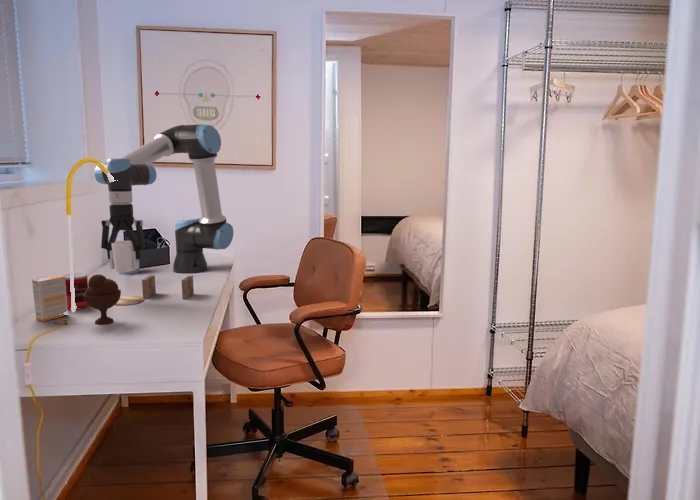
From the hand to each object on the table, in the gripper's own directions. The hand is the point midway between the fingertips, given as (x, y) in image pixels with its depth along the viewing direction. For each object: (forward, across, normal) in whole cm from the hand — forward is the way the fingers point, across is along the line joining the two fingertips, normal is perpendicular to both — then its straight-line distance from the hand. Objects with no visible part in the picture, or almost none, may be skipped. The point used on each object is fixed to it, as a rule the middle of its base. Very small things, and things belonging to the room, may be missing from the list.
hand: (125, 268), depth 194 cm
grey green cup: (+12, -21, +48) cm, 54 cm away
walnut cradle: (+12, +12, +8) cm, 19 cm away
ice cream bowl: (+12, +4, -25) cm, 28 cm away
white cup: (+1, 0, 0) cm, 1 cm away
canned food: (+12, -14, -8) cm, 20 cm away
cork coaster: (+12, 0, 0) cm, 12 cm away
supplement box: (+12, -15, -21) cm, 28 cm away
